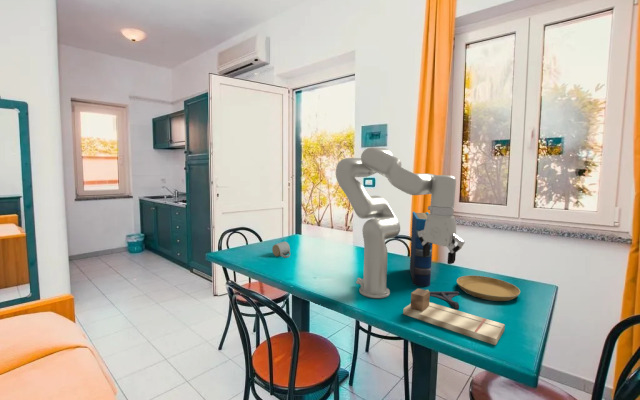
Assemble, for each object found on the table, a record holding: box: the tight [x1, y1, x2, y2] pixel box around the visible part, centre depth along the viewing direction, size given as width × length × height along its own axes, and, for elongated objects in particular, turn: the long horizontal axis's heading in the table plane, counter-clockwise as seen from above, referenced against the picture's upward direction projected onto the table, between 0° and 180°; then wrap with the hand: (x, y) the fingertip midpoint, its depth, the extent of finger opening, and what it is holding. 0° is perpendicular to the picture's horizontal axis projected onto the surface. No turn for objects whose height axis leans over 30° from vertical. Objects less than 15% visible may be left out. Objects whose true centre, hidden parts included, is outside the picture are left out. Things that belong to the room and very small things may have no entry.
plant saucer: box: [456, 275, 521, 302], centre depth 138 cm, size 24×24×3 cm
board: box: [402, 301, 506, 346], centre depth 111 cm, size 30×12×2 cm, turn 49°
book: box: [409, 211, 433, 287], centre depth 152 cm, size 24×9×30 cm, turn 168°
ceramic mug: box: [271, 241, 291, 259], centre depth 187 cm, size 11×8×8 cm
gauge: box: [410, 288, 431, 311], centre depth 118 cm, size 4×9×6 cm, turn 139°
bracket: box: [430, 291, 460, 310], centre depth 128 cm, size 14×15×3 cm
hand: (438, 259), depth 112 cm, fingers open, 9 cm apart
